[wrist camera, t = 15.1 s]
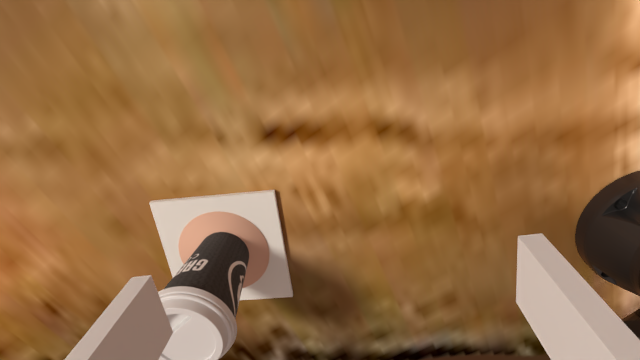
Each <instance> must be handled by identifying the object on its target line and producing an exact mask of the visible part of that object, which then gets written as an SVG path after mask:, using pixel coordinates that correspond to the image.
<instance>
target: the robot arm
mask: <svg viewBox="0 0 640 360" xmlns="http://www.w3.org/2000/svg"><path fill="white" fill-rule="evenodd" d="M575 240H576V246H577V250H578V252H579V254H580V256H581V258H582V259H583V260H584V262H585V263H586V264H587V265H588V266H589V267H590V268H591V269H592V270H593V271H594V272H595V273H596V274H598V275H599V276H600V277H602V278H603V279H605V280H606V281H608V282H611V283H613V284H615V285H617V286H619V287H621V288H623V289H625V290H628V291H630V292H632V293H634V294H636V295H638V296H640V171H637V172H634V173H631V174H628V175H626V176H623V177H621V178H619V179H617V180H616V181H614V182H612V183H611V184H609V185H608V186H606V187H605V188H603V189H602V190H601V191H600V192H599V193H598V194H597V195H595V196H594V198H593V199H592V200H591V201H590V202H589V203H588V205H587V206H586V207H585V209H584V210H583V212H582V214H581V216H580V218H579V221H578V224H577V228H576V234H575ZM516 303H517V304H518V306H519V308H520V309H521V311H522V313H523V314H524V316H525V318H526V319H527V321H528V322H529V324H530V326H531V327H532V329H533V331H534V332H535V334H536V336H537V337H538V339H539V341H540V342H541V344H542V346H543V347H544V349H545V351H546V352H547V354H548V356H549V357H550V359H551V360H640V309H638V310H637V311H635V312H633V313H632V314H630V315H628V316H627V317H625V318H624V319H622V320H621V319H620V318H619V317H618V316H617V315H616V314H615V313H614V311H613V310H612V309H611V308H610V307H609V306H608V305H607V304H606V303H605V302H604V301H603V299H602V298H601V297H600V296H599V295H598V294H597V293H596V292H595V291H594V290H593V289H592V287H591V286H590V285H589V284H588V283H587V282H586V281H585V280H584V279H583V278H582V277H581V275H580V274H579V273H578V272H577V271H576V270H575V269H574V268H573V267H572V266H571V265H570V263H569V262H568V261H567V260H566V259H565V258H564V257H563V256H562V255H561V254H560V253H559V251H558V250H557V249H556V248H555V247H554V246H553V245H552V244H551V243H550V242H549V241H548V239H547V238H546V237H545V236H544V235H543V234H542V233H541V234H532V235H522V236H518V251H517V287H516ZM172 334H173V330H172V328H171V325H170V323H169V320H168V317H167V315H166V312H165V310H164V307H163V305H162V302H161V299H160V297H159V294H158V292H157V289H156V287H155V284H154V281H153V279H152V276H151V275H149V276H140V277H132V278H131V279H130V280H129V282H128V283H127V284H126V285H125V286H124V288H123V289H122V290H121V291H120V293H119V294H118V295H117V296H116V297H115V299H114V300H113V301H112V302H111V304H110V305H109V306H108V307H107V308H106V310H105V311H104V312H103V313H102V315H101V316H100V317H99V318H98V319H97V321H96V322H95V323H94V324H93V326H92V327H91V328H90V329H89V330H88V332H87V333H86V334H85V335H84V337H83V338H82V339H81V340H80V341H79V343H78V344H77V345H76V346H75V347H74V349H73V350H72V351H71V352H70V354H69V355H68V356H67V357H66V358H65V360H158V359H159V358H160V356H161V354H162V352H163V350H164V348H165V347H166V345H167V343H168V341H169V339H170V337H171V336H172Z"/></svg>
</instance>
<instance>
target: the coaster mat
mask: <svg viewBox="0 0 640 360" xmlns="http://www.w3.org/2000/svg"><path fill="white" fill-rule="evenodd" d="M149 204H150V207H151V210H152V213H153V216H154V220H155V223H156V226H157V229H158V232H159V235H160V238H161V242H162V245H163V248H164V251H165V254H166V257H167V261H168V264H169V267H170V270H171V273H172V276H173V277H174V276H175V275H176V273H177V272H178V271H179V270H180V269H181V267H182V266H183V265H184V264H185V262H186V261H187V260H188V259H189V257H190V256H191V255H192V254H193V253H194V251H195V250H196V249H197V248H198V246H199V245H200V244H201V243H202V241H203V240H204V239H205V238H206V237H207V236H209V235H210V234H213V233H216V232H227V233H231V234H234V235H236V236H237V237H239V238H240V239H241V240H242V241H243V242H244V243H245V244H246V246H247V248H248V251H249V261H248V265H247V270H246V274H245V278H244V283H243V287H242V291H241V296H240V300H252V299H268V298H283V297H293V290H292V284H291V279H290V273H289V268H288V262H287V256H286V251H285V245H284V239H283V234H282V228H281V223H280V217H279V211H278V206H277V200H276V195H275V190H266V191H255V192H243V193H232V194H221V195H210V196H198V197H187V198H176V199H165V200H153V201H150V202H149Z"/></svg>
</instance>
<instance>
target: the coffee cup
mask: <svg viewBox="0 0 640 360" xmlns="http://www.w3.org/2000/svg"><path fill="white" fill-rule="evenodd" d="M248 261H249V251H248V248H247V246H246V244H245V243H244V242H243V241H242V240H241V239H240V238H239V237H237V236H236V235H234V234H231V233H227V232H216V233H213V234H210V235H209V236H207V237H206V238H205V239H204V240H203V241H202V243H201V244H200V245H199V246H198V248H197V249H196V250H195V251H194V253H193V254H192V255H191V256H190V257H189V259H188V260H187V261H186V262H185V264H184V265H183V266H182V267H181V269H180V270H179V271H178V272H177V273H176V275H175V276H174V277H173V278H172V280H171V281H170V282H169V283H168V284H167V286H166V287H165V288H164V289H163V290H161V291H159V292H158V294H159V297H160V299H161V302H162V305H163V307H164V310H165V312H166V315H167V317H168V320H169V323H170V325H171V328H172V330H173V334H172V336H171V337H170V339H169V341H168V343H167V345H166V347H165V348H164V350H163V352H162V354H161V356H160V358H159V359H158V360H218V359H219V358H221V357H222V356H223V355H224V354H225V353H226V352H227V351H228V350H229V349H230V347H231V346H232V344H233V343H234V341H235V338H236V334H237V325H236V321H235V318H236V314H237V309H238V305H239V300H240V296H241V291H242V287H243V283H244V278H245V274H246V270H247V265H248Z"/></svg>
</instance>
